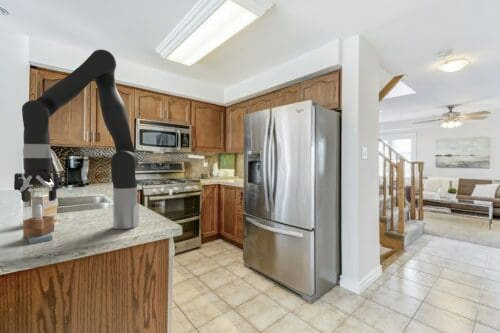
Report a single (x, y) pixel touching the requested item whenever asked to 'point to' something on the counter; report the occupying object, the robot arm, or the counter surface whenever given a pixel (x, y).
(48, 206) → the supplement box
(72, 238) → the counter surface
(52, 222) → the brown wooden cube
